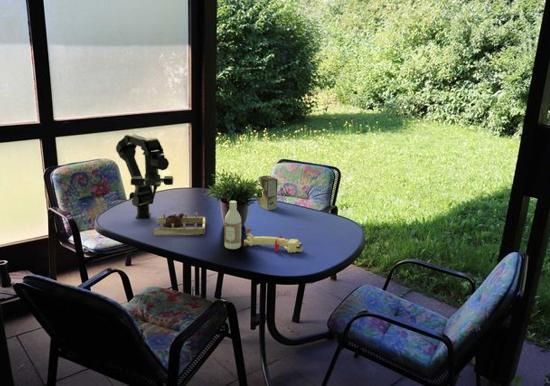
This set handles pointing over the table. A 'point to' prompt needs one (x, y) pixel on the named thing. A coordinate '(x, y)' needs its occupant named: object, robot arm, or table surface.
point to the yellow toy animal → (273, 242)
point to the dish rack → (181, 230)
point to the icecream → (173, 221)
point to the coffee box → (268, 193)
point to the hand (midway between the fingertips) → (153, 198)
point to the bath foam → (233, 227)
